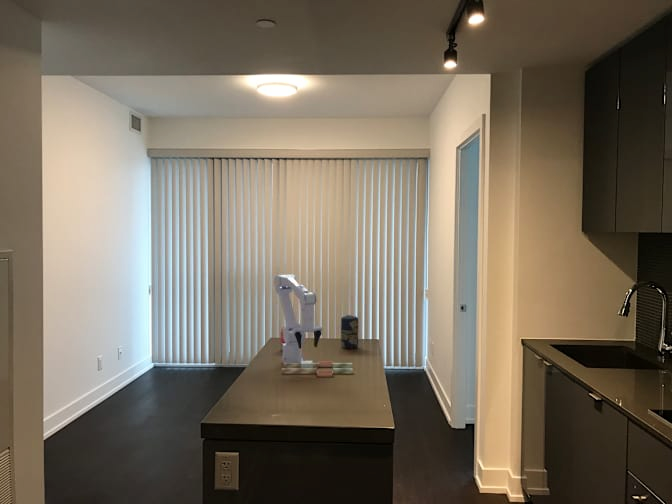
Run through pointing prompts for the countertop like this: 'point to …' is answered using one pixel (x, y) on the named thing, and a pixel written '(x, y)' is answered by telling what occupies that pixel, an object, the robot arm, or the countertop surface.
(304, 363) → the block
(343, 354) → the countertop surface
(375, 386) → the countertop surface
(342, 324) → the canister
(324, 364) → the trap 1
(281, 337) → the soda can
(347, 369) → the track
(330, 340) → the countertop surface
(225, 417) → the countertop surface
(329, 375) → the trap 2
